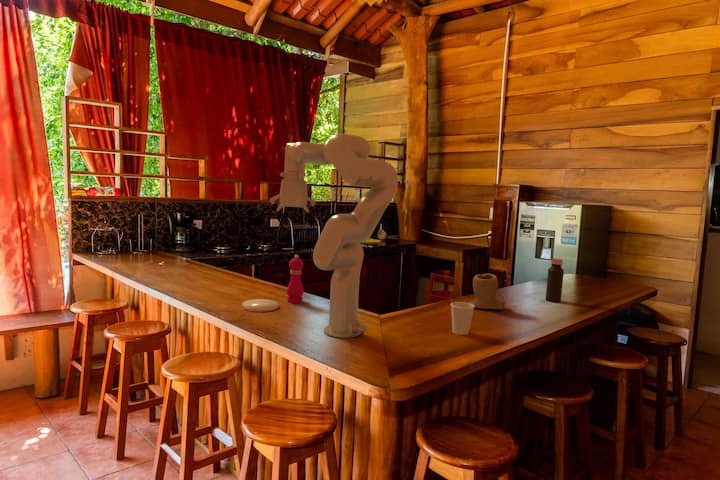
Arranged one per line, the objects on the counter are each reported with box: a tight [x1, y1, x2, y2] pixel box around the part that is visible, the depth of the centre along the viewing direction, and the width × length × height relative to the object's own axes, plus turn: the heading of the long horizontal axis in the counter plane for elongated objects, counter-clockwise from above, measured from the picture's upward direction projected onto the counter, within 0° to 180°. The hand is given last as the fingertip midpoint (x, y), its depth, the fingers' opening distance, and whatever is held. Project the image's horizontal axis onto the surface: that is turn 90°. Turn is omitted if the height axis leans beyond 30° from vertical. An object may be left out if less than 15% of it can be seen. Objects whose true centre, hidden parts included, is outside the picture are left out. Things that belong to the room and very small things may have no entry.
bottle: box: [545, 258, 565, 303], centre depth 225 cm, size 7×7×20 cm
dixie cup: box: [450, 301, 476, 336], centre depth 167 cm, size 8×8×10 cm
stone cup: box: [468, 273, 506, 311], centre depth 203 cm, size 15×12×15 cm
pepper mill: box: [286, 254, 305, 304], centre depth 199 cm, size 7×7×20 cm
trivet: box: [241, 298, 279, 313], centre depth 188 cm, size 14×14×2 cm
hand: (291, 222), depth 180 cm, fingers open, 9 cm apart
